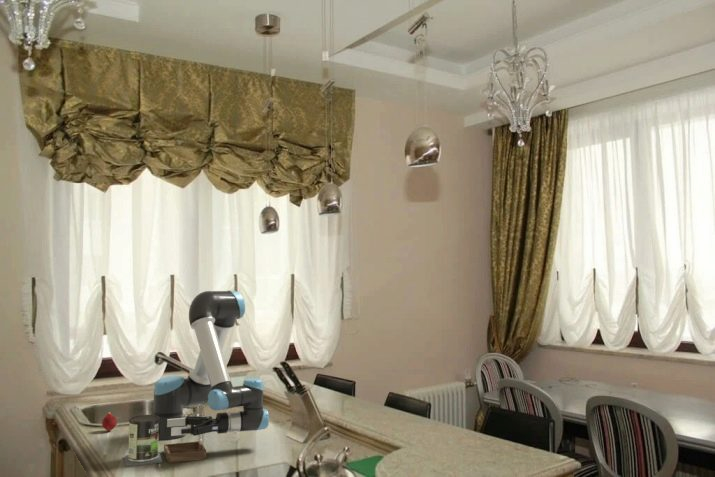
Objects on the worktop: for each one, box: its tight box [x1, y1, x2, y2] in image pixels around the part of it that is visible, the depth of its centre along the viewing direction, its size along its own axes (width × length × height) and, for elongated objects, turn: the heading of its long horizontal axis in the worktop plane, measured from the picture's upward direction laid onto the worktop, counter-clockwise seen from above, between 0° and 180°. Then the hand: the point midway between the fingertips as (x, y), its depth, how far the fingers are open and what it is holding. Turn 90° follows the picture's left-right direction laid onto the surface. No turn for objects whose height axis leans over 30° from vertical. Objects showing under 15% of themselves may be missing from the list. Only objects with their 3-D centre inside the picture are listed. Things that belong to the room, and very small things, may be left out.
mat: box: [123, 451, 163, 468], centre depth 218 cm, size 12×12×1 cm
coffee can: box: [127, 414, 159, 462], centre depth 218 cm, size 10×10×14 cm
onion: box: [101, 411, 118, 432], centre depth 257 cm, size 6×6×8 cm
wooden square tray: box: [163, 440, 207, 464], centre depth 224 cm, size 13×13×3 cm
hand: (169, 427), depth 222 cm, fingers open, 13 cm apart
